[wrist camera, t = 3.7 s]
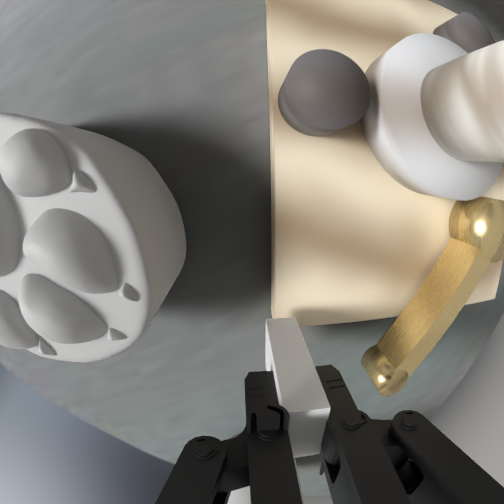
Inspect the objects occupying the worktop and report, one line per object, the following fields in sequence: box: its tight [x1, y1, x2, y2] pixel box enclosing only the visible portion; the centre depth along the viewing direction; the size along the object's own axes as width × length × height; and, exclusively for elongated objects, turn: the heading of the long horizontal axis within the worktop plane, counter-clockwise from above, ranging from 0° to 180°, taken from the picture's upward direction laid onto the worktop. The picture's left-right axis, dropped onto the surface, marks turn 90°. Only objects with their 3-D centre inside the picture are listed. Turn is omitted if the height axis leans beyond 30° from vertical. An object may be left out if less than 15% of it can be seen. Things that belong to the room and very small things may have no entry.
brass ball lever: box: [361, 196, 504, 396], centre depth 14 cm, size 13×4×3 cm, turn 146°
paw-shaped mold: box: [0, 113, 186, 362], centre depth 12 cm, size 10×13×9 cm
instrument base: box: [265, 0, 504, 327], centre depth 10 cm, size 22×18×12 cm
